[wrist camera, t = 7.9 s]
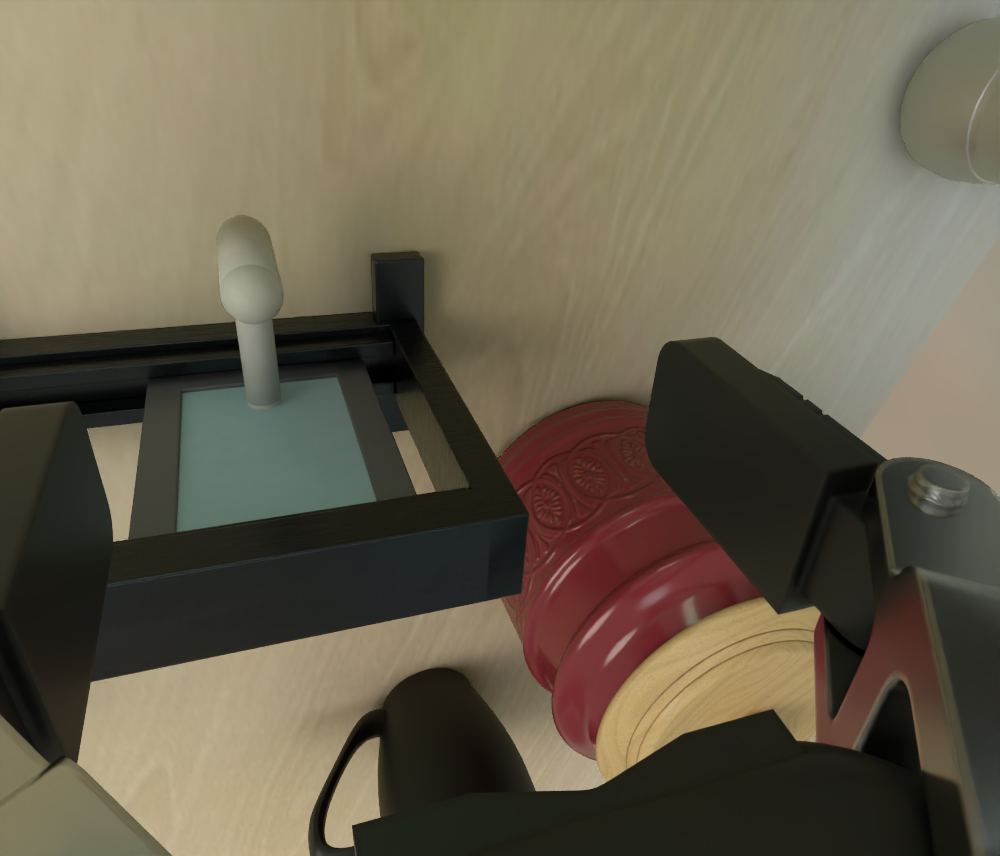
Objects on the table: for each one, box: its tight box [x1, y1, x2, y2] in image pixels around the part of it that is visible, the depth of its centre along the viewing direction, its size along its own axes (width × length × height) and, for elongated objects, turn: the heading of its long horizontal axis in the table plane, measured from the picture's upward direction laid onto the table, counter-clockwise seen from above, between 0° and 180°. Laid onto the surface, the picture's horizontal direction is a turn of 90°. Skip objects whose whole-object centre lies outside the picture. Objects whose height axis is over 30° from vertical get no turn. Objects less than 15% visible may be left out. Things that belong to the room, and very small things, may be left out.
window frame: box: [0, 252, 529, 682], centre depth 24 cm, size 19×8×14 cm, turn 87°
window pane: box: [128, 215, 417, 540], centre depth 23 cm, size 8×7×11 cm
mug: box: [308, 669, 535, 856], centre depth 41 cm, size 8×12×10 cm
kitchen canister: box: [498, 401, 821, 782], centre depth 34 cm, size 13×13×18 cm
